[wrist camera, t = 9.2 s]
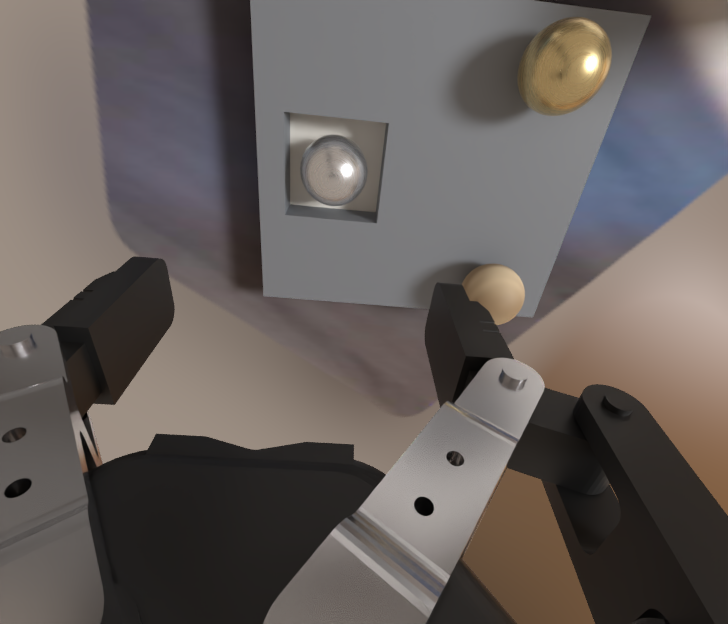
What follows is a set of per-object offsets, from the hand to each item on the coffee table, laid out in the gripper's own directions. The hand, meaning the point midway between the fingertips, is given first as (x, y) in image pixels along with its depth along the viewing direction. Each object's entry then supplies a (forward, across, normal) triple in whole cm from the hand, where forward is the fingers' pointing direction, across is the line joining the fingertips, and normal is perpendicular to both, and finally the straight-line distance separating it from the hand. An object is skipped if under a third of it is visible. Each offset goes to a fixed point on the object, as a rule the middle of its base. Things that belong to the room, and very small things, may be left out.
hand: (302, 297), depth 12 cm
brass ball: (+14, -12, -7) cm, 20 cm away
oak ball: (+14, -12, +7) cm, 20 cm away
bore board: (+20, -6, 0) cm, 20 cm away
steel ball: (+17, 0, 0) cm, 17 cm away
